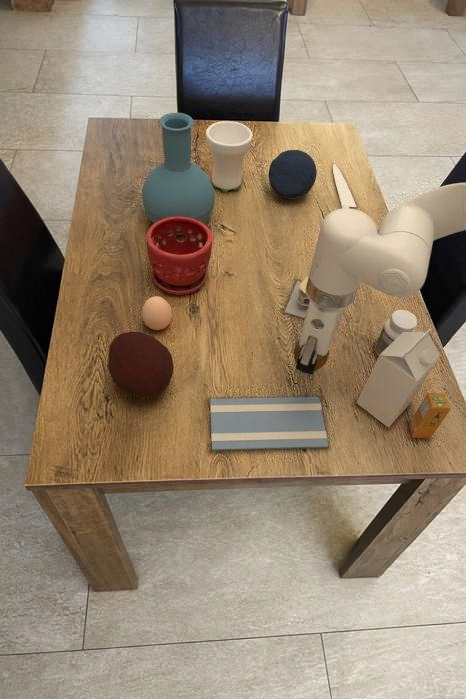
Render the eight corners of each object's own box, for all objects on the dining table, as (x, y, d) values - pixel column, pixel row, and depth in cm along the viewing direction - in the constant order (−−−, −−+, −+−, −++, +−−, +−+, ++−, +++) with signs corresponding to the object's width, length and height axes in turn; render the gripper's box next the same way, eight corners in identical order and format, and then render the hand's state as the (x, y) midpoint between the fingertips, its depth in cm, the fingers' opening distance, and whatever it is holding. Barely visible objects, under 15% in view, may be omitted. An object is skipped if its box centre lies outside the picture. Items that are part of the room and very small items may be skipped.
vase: (136, 207, 123) (124, 106, 103) (199, 194, 128) (200, 95, 108) (157, 251, 114) (149, 149, 94) (224, 235, 119) (230, 135, 99)
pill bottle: (388, 336, 103) (404, 303, 95) (408, 354, 100) (427, 322, 92) (368, 347, 101) (382, 315, 93) (388, 367, 98) (405, 335, 90)
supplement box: (425, 422, 91) (447, 392, 83) (429, 439, 89) (452, 410, 81) (407, 421, 91) (427, 391, 83) (411, 438, 89) (432, 409, 81)
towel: (318, 398, 93) (319, 396, 92) (327, 447, 87) (328, 446, 86) (210, 400, 91) (210, 398, 90) (211, 450, 85) (211, 449, 84)
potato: (134, 422, 87) (128, 390, 79) (99, 370, 93) (89, 335, 85) (188, 392, 92) (187, 358, 83) (151, 344, 98) (147, 309, 90)
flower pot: (211, 300, 106) (213, 257, 96) (148, 300, 105) (144, 257, 95) (210, 257, 114) (211, 214, 104) (151, 257, 113) (147, 213, 103)
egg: (144, 338, 99) (141, 312, 93) (142, 316, 102) (138, 290, 96) (174, 334, 100) (172, 309, 94) (170, 313, 103) (169, 287, 97)
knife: (344, 162, 139) (329, 159, 138) (369, 241, 119) (352, 238, 118) (342, 167, 140) (327, 163, 139) (366, 245, 120) (349, 242, 119)
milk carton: (355, 403, 92) (386, 339, 77) (377, 381, 96) (411, 315, 81) (387, 428, 90) (426, 366, 74) (409, 404, 93) (450, 341, 78)
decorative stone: (271, 176, 134) (276, 141, 126) (315, 185, 133) (323, 151, 125) (261, 201, 127) (265, 166, 119) (307, 212, 126) (315, 177, 118)
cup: (198, 176, 132) (198, 124, 121) (237, 168, 136) (241, 117, 124) (214, 201, 126) (216, 149, 115) (254, 192, 129) (260, 141, 118)
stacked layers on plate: (297, 280, 111) (301, 262, 106) (336, 292, 109) (342, 274, 105) (284, 312, 105) (288, 294, 101) (326, 324, 104) (331, 307, 99)
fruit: (309, 347, 95) (317, 319, 89) (330, 369, 92) (340, 343, 86) (283, 361, 93) (289, 334, 87) (305, 385, 90) (313, 358, 84)
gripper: (339, 334, 70) (315, 401, 85) (369, 259, 80) (343, 330, 95) (289, 316, 72) (274, 385, 86) (324, 244, 82) (305, 317, 96)
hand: (310, 356), depth 90 cm, fingers closed on fruit, 6 cm apart
